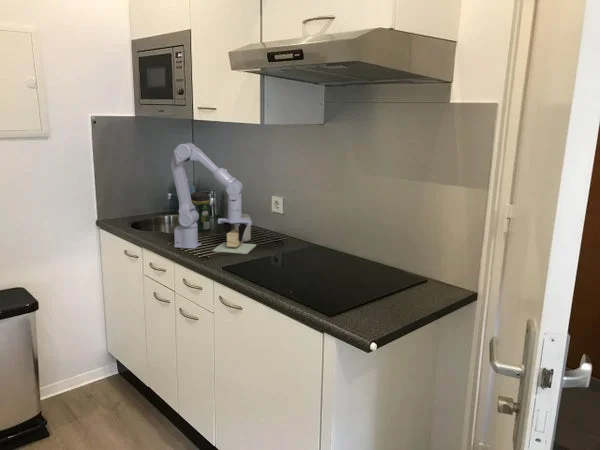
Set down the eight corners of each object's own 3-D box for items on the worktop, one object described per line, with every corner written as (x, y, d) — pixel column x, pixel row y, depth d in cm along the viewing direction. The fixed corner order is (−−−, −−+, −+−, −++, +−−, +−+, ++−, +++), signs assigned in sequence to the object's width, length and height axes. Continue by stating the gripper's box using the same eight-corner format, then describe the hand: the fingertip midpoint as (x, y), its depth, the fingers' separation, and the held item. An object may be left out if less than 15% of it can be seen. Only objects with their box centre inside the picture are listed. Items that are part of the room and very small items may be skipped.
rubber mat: (212, 251, 204) (212, 250, 203) (223, 243, 217) (223, 242, 217) (247, 253, 201) (247, 252, 201) (256, 245, 214) (256, 244, 214)
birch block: (233, 241, 213) (232, 229, 211) (242, 242, 212) (242, 230, 211) (226, 246, 205) (226, 233, 204) (236, 246, 204) (236, 234, 203)
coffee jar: (188, 228, 243) (187, 192, 239) (201, 226, 249) (201, 190, 245) (199, 232, 237) (198, 194, 233) (212, 229, 242) (212, 193, 238)
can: (253, 239, 225) (253, 213, 223) (247, 243, 218) (247, 217, 216) (237, 237, 227) (237, 212, 224) (231, 241, 220) (231, 215, 217)
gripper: (215, 210, 203) (215, 241, 206) (248, 212, 200) (248, 244, 203) (220, 207, 209) (221, 237, 212) (253, 209, 207) (253, 240, 210)
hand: (234, 240), depth 208 cm, fingers open, 4 cm apart
